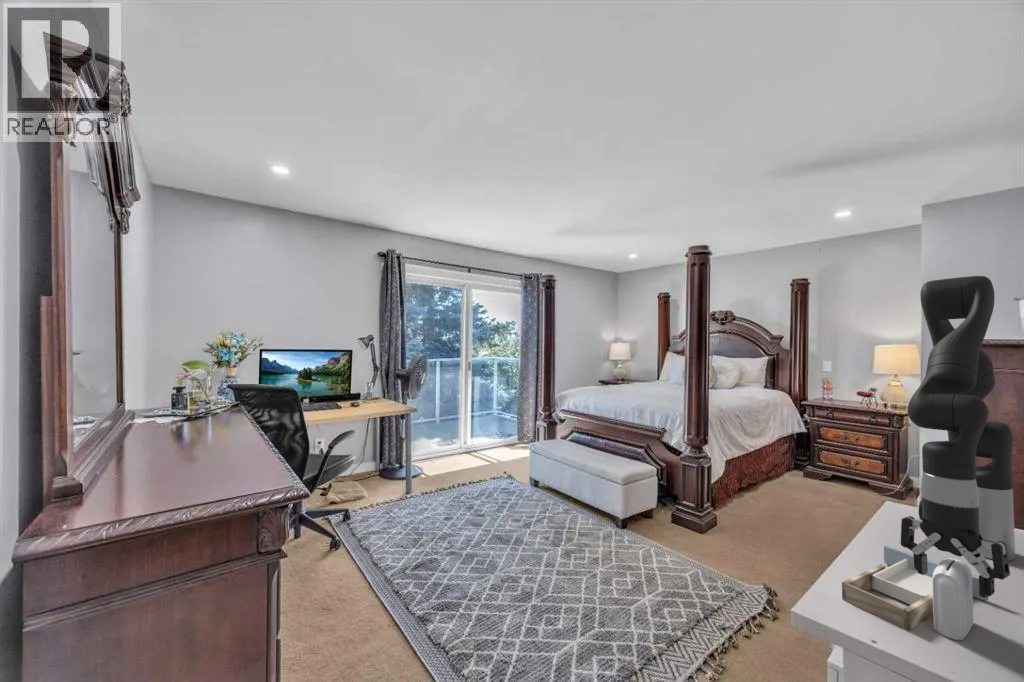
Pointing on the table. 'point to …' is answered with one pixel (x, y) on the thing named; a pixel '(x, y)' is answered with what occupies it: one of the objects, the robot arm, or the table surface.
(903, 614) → the dock housing
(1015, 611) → the table surface
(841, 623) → the table surface
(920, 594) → the tray
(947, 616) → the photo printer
